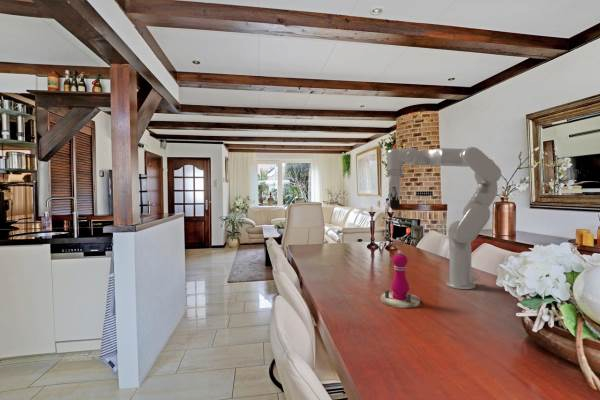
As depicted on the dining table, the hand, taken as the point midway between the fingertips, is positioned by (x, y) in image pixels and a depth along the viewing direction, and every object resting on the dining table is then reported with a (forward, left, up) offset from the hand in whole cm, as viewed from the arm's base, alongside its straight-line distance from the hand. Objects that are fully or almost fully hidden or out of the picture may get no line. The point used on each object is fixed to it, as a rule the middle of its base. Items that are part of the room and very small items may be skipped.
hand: (395, 207), depth 162 cm
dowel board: (+17, +23, -38) cm, 48 cm away
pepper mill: (+17, +23, -37) cm, 47 cm away
